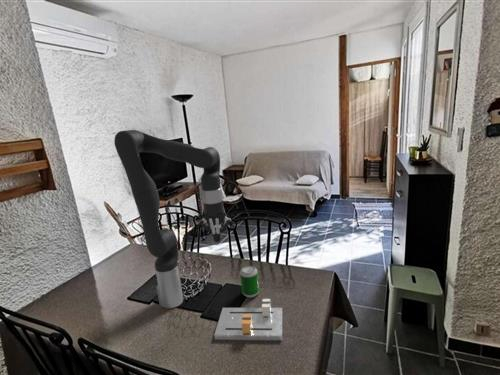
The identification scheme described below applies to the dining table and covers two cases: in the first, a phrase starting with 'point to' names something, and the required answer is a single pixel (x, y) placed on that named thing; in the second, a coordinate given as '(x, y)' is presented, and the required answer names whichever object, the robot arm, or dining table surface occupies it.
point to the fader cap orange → (246, 323)
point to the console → (261, 325)
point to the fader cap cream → (266, 307)
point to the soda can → (249, 281)
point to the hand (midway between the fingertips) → (217, 241)
